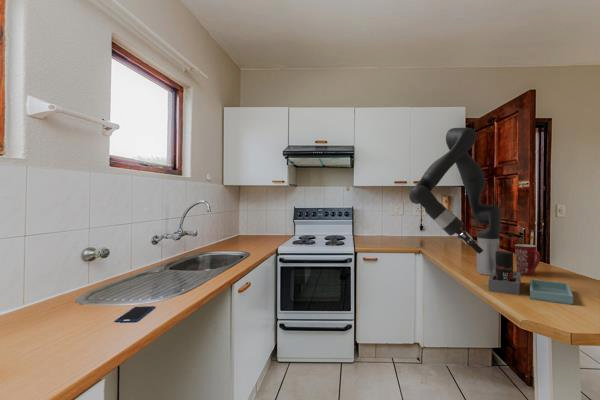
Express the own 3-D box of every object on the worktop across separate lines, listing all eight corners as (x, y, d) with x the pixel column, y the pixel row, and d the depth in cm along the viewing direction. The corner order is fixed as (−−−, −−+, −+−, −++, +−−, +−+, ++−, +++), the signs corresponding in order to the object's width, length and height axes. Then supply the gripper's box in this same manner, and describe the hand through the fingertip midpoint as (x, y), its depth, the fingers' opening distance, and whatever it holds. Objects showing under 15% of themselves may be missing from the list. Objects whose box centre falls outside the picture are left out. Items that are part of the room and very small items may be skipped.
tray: (573, 305, 110) (573, 296, 110) (530, 299, 117) (529, 290, 117) (567, 291, 126) (567, 283, 126) (530, 286, 133) (530, 279, 133)
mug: (510, 271, 161) (509, 244, 161) (527, 270, 162) (527, 243, 162) (528, 277, 149) (528, 248, 149) (548, 277, 149) (547, 247, 149)
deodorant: (508, 288, 132) (508, 251, 132) (516, 292, 126) (516, 253, 126) (492, 287, 132) (492, 251, 132) (500, 292, 126) (500, 253, 126)
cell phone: (113, 324, 98) (112, 321, 98) (135, 308, 112) (135, 306, 112) (137, 323, 98) (137, 321, 98) (156, 308, 112) (156, 305, 112)
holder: (519, 295, 122) (519, 283, 122) (488, 290, 128) (488, 279, 128) (520, 282, 139) (520, 272, 139) (493, 279, 145) (493, 269, 145)
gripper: (457, 216, 128) (490, 246, 124) (453, 214, 142) (483, 242, 138) (442, 229, 130) (475, 259, 126) (440, 226, 144) (470, 253, 140)
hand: (479, 250), depth 132 cm, fingers open, 8 cm apart
